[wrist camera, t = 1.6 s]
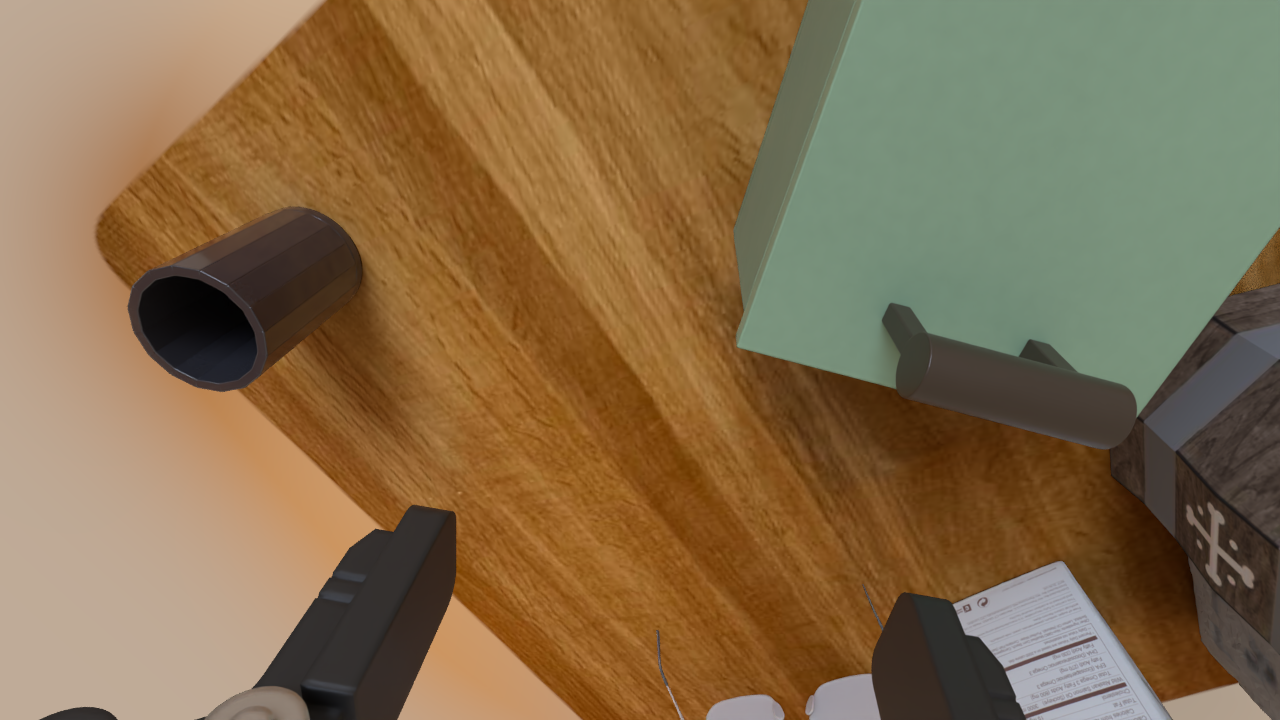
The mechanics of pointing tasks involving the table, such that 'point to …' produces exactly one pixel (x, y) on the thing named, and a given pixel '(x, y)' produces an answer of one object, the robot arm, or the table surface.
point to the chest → (787, 132)
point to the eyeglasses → (835, 710)
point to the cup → (244, 297)
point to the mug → (1219, 456)
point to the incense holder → (1238, 647)
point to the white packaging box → (1058, 650)
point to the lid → (1026, 203)
